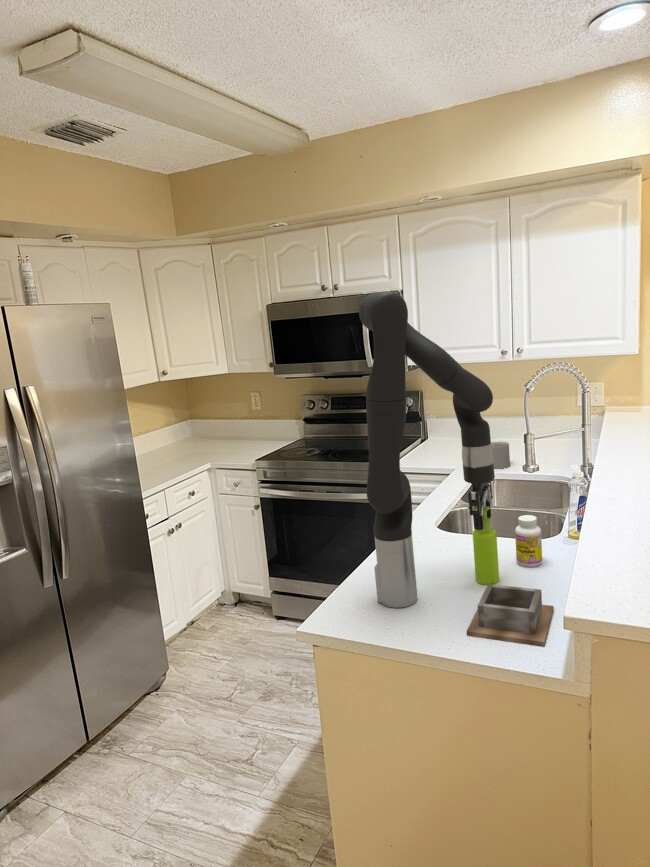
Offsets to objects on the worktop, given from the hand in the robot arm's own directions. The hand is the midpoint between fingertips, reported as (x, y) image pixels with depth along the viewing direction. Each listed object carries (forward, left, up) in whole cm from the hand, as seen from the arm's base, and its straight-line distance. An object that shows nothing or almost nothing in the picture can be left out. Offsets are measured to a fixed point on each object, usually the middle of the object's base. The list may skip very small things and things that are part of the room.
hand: (483, 523), depth 153 cm
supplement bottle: (+9, +13, -16) cm, 22 cm away
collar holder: (+10, -20, -16) cm, 27 cm away
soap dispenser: (0, 0, -16) cm, 16 cm away
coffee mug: (-19, +113, -16) cm, 116 cm away
